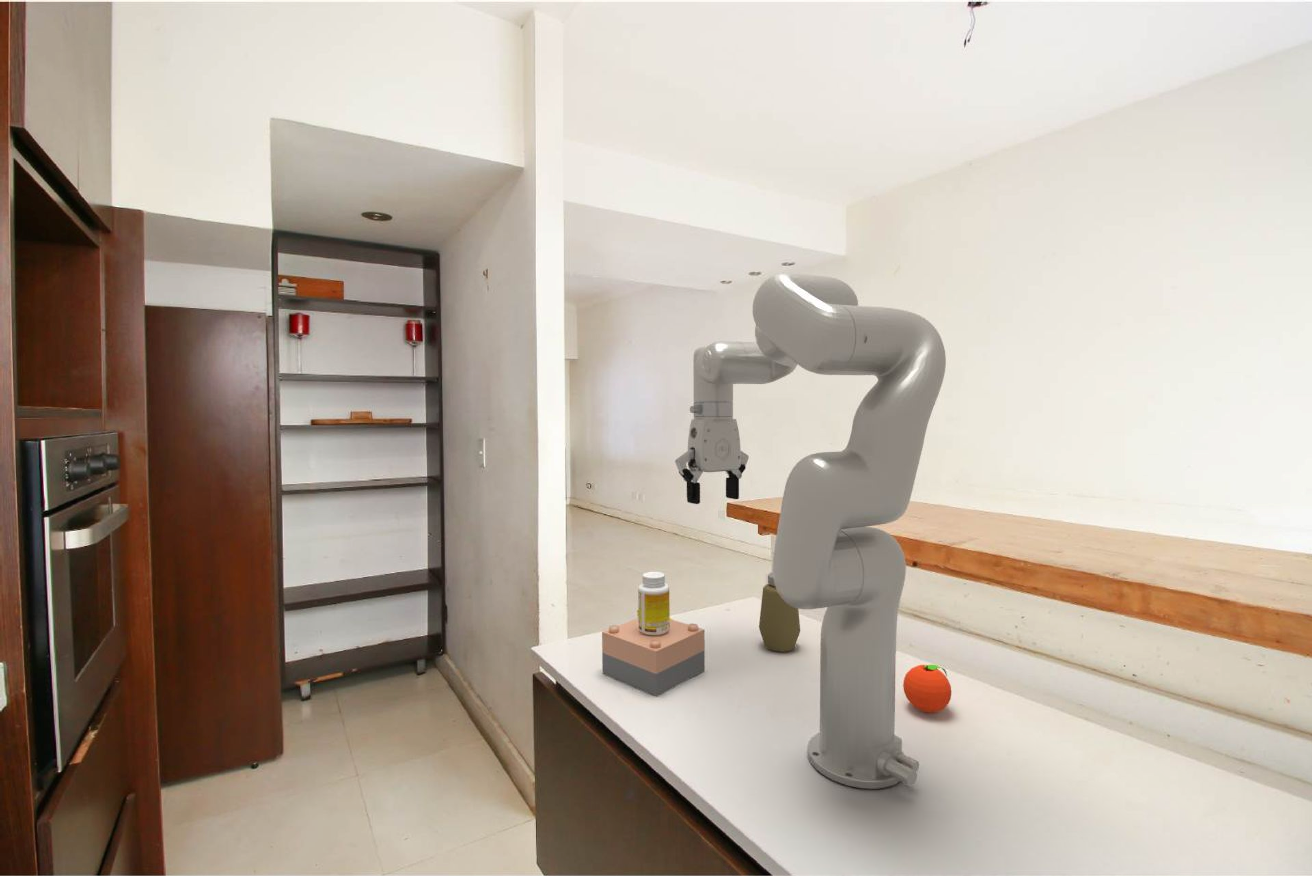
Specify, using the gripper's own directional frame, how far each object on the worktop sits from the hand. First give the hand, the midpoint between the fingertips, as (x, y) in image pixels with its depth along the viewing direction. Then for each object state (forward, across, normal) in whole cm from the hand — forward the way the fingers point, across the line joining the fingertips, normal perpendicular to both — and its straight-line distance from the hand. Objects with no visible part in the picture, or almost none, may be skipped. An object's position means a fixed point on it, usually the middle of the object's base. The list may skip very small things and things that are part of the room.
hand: (713, 500), depth 117 cm
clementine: (+30, +13, -37) cm, 49 cm away
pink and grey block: (+30, -15, -1) cm, 33 cm away
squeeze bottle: (+30, +12, -6) cm, 33 cm away
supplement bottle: (+22, -15, -1) cm, 27 cm away
